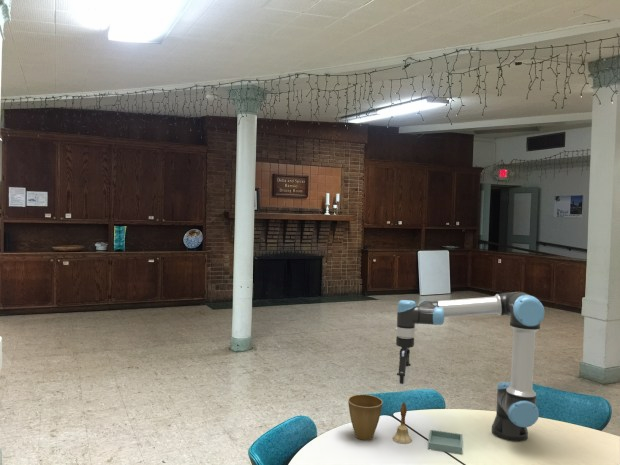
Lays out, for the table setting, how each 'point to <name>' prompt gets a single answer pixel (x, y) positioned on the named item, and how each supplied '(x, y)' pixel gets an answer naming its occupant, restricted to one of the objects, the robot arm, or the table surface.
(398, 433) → the hand bell
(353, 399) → the plant pot
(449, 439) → the tray
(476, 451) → the table surface
